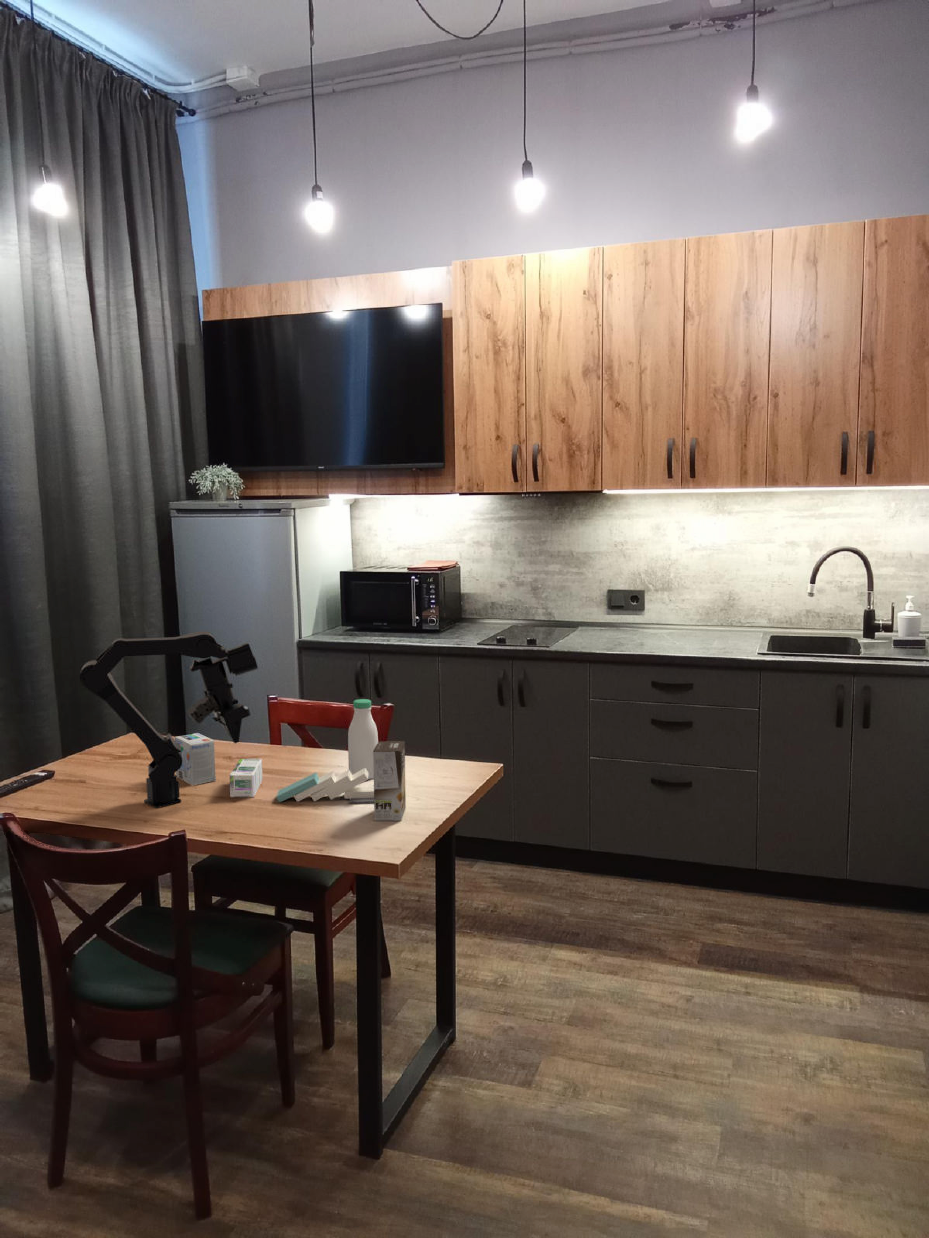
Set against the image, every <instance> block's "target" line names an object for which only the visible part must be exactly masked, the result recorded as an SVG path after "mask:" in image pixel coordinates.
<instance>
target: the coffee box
mask: <svg viewBox="0 0 929 1238" xmlns="http://www.w3.org/2000/svg"><path fill="white" fill-rule="evenodd" d="M405 745H406V743H405V740H387V741H384V740H383V741H378V743H377V745H376V747H375V748H374V750H373V761H374V778H373V785H374V803H373V809H374V813H373V814H374V820H373V821H377V822H378V821H380V822H383V821H384V822H385V821H389V822H390V821H394V822H395V821H397V822H400V821H402V820H403V817H404V813H405V811H406V806H407V805H406V803H407V800H406V799H407V798H406V746H405Z"/></svg>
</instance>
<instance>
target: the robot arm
mask: <svg viewBox="0 0 929 1238" xmlns="http://www.w3.org/2000/svg"><path fill="white" fill-rule="evenodd" d="M160 655H161V656H164V655H177V656H178V655H181V656H185V657H191V658H194V659H193V661H192V664H191V665H190V667H189V669H190V671H191V672H192V673H193V672H196V671H199V673H200V677H201V681H202V683H203V685H204V688H205V689H203V691H202V693H203V697H202V698H200V699H199V700H198V701H196V703H194V704H193V705H191V706H190V707H189V708H188V709H187V710H186V714H187V715H188V716H189V718H191V720H192V721H193V722H195V723H196V724H201V723H203V722H204V720H205V719H206V718H207V717H208V716H211V713H213V714H214V715H213V716H214V717H212V720H213V721H215V722H217V723H219V724H221V726H222V727H223V728H224V730H225V732H226V734H227V735H228V737H229V738H230V739H231V741H232V742H233V743H234V744H237V743H239V742H240V735H241V728H242V721H243V719H244V718H247V717H250V716H251V712H250V708H249V707H248V706H245V705H243V704H241V703H239V700H238V698H235V695H234V693H233V690H232V689H233V688H234V686H233V683H232V682H230V680H229V678H228V674H227V671H226V667H227V670H228V673H229V674H232V675H234V677H238V676H241V675H245V674H246V673H249V672H254V671H256V670H258V669H259V668H258V663H257V661H256V660H257V659H256V657H255V655H254V653H253V651H252V648H251V647H250V644H249V642H246V643H245V642H244V643H243V644H241V645H239V646H236V647H235V646H234V647H232V648H228V649H227V648H226V647H225V646H222V645H220V644H219V643H218V642H217V641H216V639H215V637H214V635H212V634H211V633H210V632H208V631H206V630H204V631H203V630H201V631H196V632H192V633H190V632H189V633H186V634H184V635H179V636H173V637H170V636H169V637H143V638H142V637H141V638H123V637H119V638H116V639H115V640H113V642H112V643H111V645H109V646H108V648H106V649H105V650H104V651H103V652H101V654H100V655H98V657H97V658H96V659H95V660H94V659H93V660H89V661H88V662H86V663H84V665H83V666H82V668H81V670H80V673H79V681H80V683H81V685H82V686H83V687H84V688H85V689H87V690H88V691H89V692H91V694H93V695H95V696H96V697H98V698H100V699H101V700H103V701H104V702H106V703H107V705H108V706H109V707H110V708H111V709H112V710H113V711H114V712H115V713H116V715H118V717H119V718H120V719H121V720H122V721H123V722H124V724H126V726H127V727H129V729H130V730H131V731H132V732H133V733H134V734H135V735H136V736H137V737H138V739H139V740H140V741H141V742H142V743H143V744H144V746H145V747H146V748H147V751H148V752H149V754H150V756H151V758H152V761H151V762H150V763H149V764H148V766H147V769H148V772H147V773H148V777H147V778H146V779H145V781H146V782H145V783H146V796H147V797H146V799H144V801H143V802H144V803H145V804H147V805H148V806H152V807H154V808H161V807H164V806H165V807H166V806H170V805H173V804H179V803H181V802H182V799H181V798H180V796H181V795H180V781H179V780H178V777H177V775H176V771H178V770H179V769H180V768H181V766H182V761H183V760H182V754H181V747H180V744H179V743H177V742H175V738H173V736H172V735H171V733H170V732H169V733H167V734H166V735H162V734H161V733H160V732H158V730H156V729H155V728H154V727H153V725H152V724H151V722H149V721H148V720H147V719H146V718H145V716H143V714H142V713H141V712H140V711H139V710H138V709H137V708H136V706H135V705H134V704H133V703H132V702H131V701H130V700H129V698H128V697H127V696H126V695H125V694H124V693H123V692H122V691H121V690H120V688H119V687H118V684H117V683H116V681H115V679H114V677H113V675H112V674H111V672H112V671H113V669H114V668H115V667H116V666H117V665H118V664H119V663H120V662H121V661H122V659H123V658H124V657H125V658H126V657H133V656H134V657H138V656H139V657H140V656H160ZM211 657H212V658H216V659H212V658H211ZM196 658H198V659H202V660H198V659H196ZM224 662H225V665H226V667H225V665H224Z"/></svg>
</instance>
